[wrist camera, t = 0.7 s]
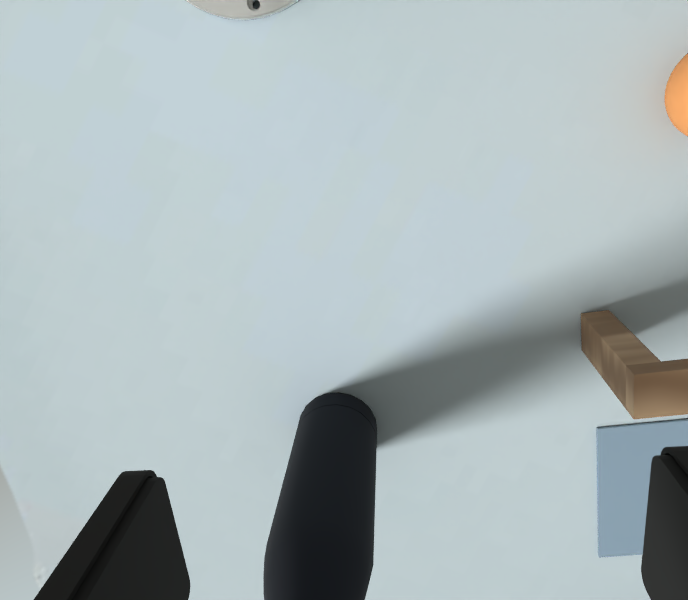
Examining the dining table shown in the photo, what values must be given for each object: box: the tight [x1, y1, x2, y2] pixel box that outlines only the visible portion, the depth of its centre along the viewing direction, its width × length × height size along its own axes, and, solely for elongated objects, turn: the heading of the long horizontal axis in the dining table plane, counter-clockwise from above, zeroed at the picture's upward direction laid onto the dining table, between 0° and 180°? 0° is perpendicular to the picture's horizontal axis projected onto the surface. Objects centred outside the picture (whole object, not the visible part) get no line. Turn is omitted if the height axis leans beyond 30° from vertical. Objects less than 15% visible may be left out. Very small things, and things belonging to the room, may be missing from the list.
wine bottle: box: [264, 393, 377, 600], centre depth 33 cm, size 6×6×30 cm
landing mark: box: [597, 419, 688, 557], centre depth 47 cm, size 13×13×1 cm
